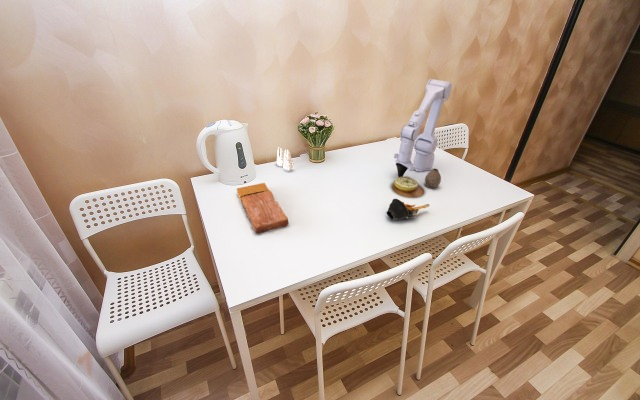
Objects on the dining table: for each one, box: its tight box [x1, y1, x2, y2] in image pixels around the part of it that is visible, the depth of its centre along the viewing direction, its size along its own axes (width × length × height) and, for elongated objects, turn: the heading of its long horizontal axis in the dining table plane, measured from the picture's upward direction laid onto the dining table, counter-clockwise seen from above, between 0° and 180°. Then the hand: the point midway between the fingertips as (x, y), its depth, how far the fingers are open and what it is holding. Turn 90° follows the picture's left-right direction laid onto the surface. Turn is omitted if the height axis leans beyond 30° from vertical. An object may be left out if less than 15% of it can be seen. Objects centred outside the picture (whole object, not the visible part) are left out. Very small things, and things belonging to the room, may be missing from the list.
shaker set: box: [276, 146, 296, 172], centre depth 146 cm, size 12×4×11 cm, turn 38°
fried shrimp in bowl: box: [386, 198, 430, 221], centre depth 116 cm, size 9×11×18 cm
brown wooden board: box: [236, 182, 289, 235], centre depth 117 cm, size 13×30×3 cm, turn 26°
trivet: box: [391, 182, 425, 199], centre depth 135 cm, size 15×15×1 cm
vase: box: [424, 168, 442, 189], centre depth 136 cm, size 7×7×9 cm
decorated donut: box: [393, 175, 419, 192], centre depth 135 cm, size 10×11×4 cm
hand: (400, 177), depth 140 cm, fingers closed
